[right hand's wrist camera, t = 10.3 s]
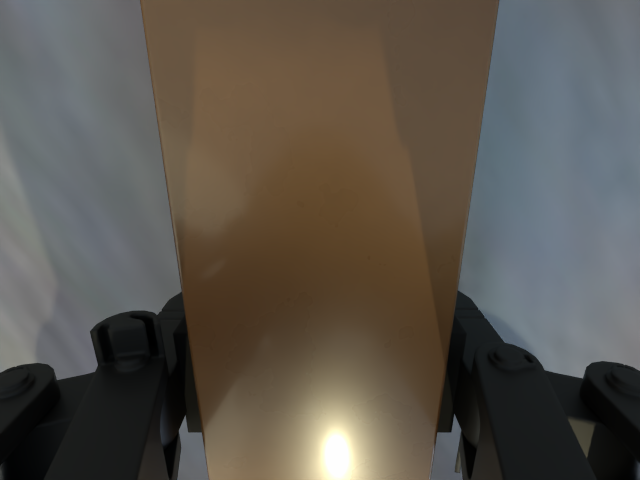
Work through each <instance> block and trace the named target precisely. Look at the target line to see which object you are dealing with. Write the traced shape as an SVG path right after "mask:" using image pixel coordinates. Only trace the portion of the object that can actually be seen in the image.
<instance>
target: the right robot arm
mask: <svg viewBox="0 0 640 480" xmlns="http://www.w3.org/2000/svg"><path fill="white" fill-rule="evenodd" d="M90 334H91V338H92V342H93V346H94V350H95V354H96V358H97V362H98V367H97V369H96V371H95V372H93V373H90V374H86V375H81V376H76V377H71V378H66V379H61V380H57V379H56V376H55V372H54V369H53V368H52V367H50V366H49V365H47V364H41V363H34V364H25V365H20V366H17V367H12V368H9V369H7V370H5V371H3V372H1V373H0V480H177V477H178V469H179V461H180V453H181V442H180V436H179V428H180V426H181V424H182V421H183V419H184V417H185V414H186V420H187V427H188V432H202V428H201V421H200V414H199V407H198V400H197V393H196V387H195V380H194V373H193V366H192V359H191V352H190V345H189V338H188V331H187V324H186V317H185V310H184V303H183V296H182V292H181V293H179V294H178V295H176V296H174V297H173V298H171V299H170V300H169V301H168V302H167V303H166V305H165V306H164V307H163V309H162V312H160V313H159V314H158V315H156V314H155V313H153V312H148V311H130V312H125V313H120V314H117V315H114V316H112V317H109V318H106V319H105V320H103V321H101V322H100V323H98V324H96V326H95V327H94V328H93V329H92V330H91V331H90ZM454 414H455V416H456V418H457V420H458V423H459V425H460V427H461V436H460V442H459V448H458V454H457V459H456V466H455V472H457V473H460V469H461V468H462V476H463V480H640V371H639V370H637V369H635V368H633V367H630V366H627V365H623V364H620V363H614V362H605V361H601V362H594V363H591V364H590V365H589V366H587V367H586V370H585V374H584V377H583V379H582V378H577V377H572V376H567V375H563V374H558V373H553V372H549V371H545V370H544V368H543V366H542V365H541V363H540V362H539V361H538V359H537V358H536V357H535V356H533V355H532V354H531V353H529V352H528V351H526V350H524V349H522V348H520V347H517V346H515V345H512V344H507V343H504V341H503V340H502V339H501V337H500V336H499V335H498V333H497V332H496V331H495V330H494V328H493V327H492V326H491V324H490V323H489V322H488V321H487V319H485V318H484V315H483V314H482V313H481V311H480V310H478V308H477V306H476V305H475V304H474V302H473V301H472V300H471V298H469V297H467V296H466V295H464V294H463V293H461V292H459V291H457V298H456V305H455V312H454V319H453V326H452V333H451V340H450V347H449V354H448V361H447V368H446V374H445V381H444V388H443V395H442V402H441V409H440V416H439V423H438V430H437V432H451V431H452V424H453V418H454Z"/></svg>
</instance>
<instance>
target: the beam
mask: <svg viewBox="0 0 640 480" xmlns="http://www.w3.org/2000/svg"><path fill="white" fill-rule="evenodd" d="M140 3H141V10H142V17H143V24H144V31H145V38H146V44H147V51H148V58H149V65H150V72H151V79H152V86H153V93H154V100H155V107H156V114H157V121H158V128H159V135H160V142H161V149H162V156H163V163H164V170H165V177H166V184H167V191H168V198H169V205H170V212H171V219H172V226H173V233H174V240H175V247H176V254H177V261H178V268H179V275H180V282H181V289H182V296H183V303H184V310H185V317H186V324H187V331H188V338H189V345H190V352H191V359H192V366H193V373H194V380H195V387H196V393H197V400H198V407H199V414H200V421H201V428H202V435H203V442H204V449H205V456H206V463H207V470H208V477H209V480H430V479H431V472H432V465H433V458H434V451H435V444H436V437H437V430H438V423H439V416H440V409H441V402H442V395H443V388H444V381H445V374H446V368H447V361H448V354H449V347H450V340H451V333H452V326H453V319H454V312H455V305H456V298H457V291H458V284H459V277H460V270H461V263H462V256H463V249H464V242H465V235H466V228H467V221H468V214H469V207H470V200H471V193H472V186H473V179H474V172H475V165H476V159H477V152H478V145H479V138H480V131H481V124H482V117H483V110H484V103H485V96H486V89H487V82H488V75H489V68H490V61H491V54H492V47H493V40H494V33H495V26H496V19H497V12H498V5H499V0H140Z"/></svg>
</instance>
